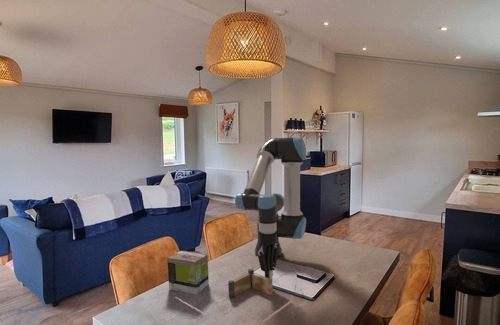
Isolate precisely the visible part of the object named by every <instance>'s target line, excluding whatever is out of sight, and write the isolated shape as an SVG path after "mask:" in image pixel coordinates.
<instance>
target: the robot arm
mask: <svg viewBox="0 0 500 325" xmlns="http://www.w3.org/2000/svg"><path fill="white" fill-rule="evenodd" d="M306 159H307V147H306V143H305V140H304V139H303V138H301V137H275V138H271V139H270V140H268V141H266V142H265V143H264V144H262V145H261V147H260V148H259V150H258V151H257V154H256V161H255V164H254V166H253V168H252V171H251V173H250V176H249V179H248V180H247V183H246V186H245V188H244V190H243V192H242V193H241V192H240V193H238V194H236V195H235V198H234V204H235V207H236V209H238V210H242V211H253V212H254V211H258V215H257V219H256V220H257V222H256V228H257V229H256V230H257V241H256V246H255V250H254V255H255V257H258V258H257V259H258V261H259V262H258V263H259V267H260V271H262V272H264V277H267V278H269V279H272V280H273V275H274V272H273V271H275V268H276V267H277V260H278V258H280V257H281V256H282V255H283V250H282V246H281V243H280V241H279V238H283V239H292V240H301V239H303V237H304V236H305V232H306V227H307V218H306V217H305V216H304V213H303V212H302V211H301V166H302V165H303V164H304V160H306ZM275 160H281V164H282V165H283V195H282V194H280V193H272V194H271V193H270V194H269V193H263V194H261V192H262V188H263V185H264V183H265V180H266V178H267V174H268V172H269V170H270V166H271V164H273V163H274V161H275ZM282 209H283V210H282ZM281 210H282V211H281ZM279 211H281V214H280V215H279Z"/></svg>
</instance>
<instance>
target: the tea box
mask: <svg viewBox="0 0 500 325" xmlns="http://www.w3.org/2000/svg"><path fill="white" fill-rule="evenodd" d="M208 260H209V259H208V254H206V253H200V252H193V251H186V250H180V251H178V252H176V253H174V254H172V255H170V256H169V257H167V274H168V289H169V290H170V291H175V292H181V293H182V292H183V293H187V294H192V295H195V296H197V295H198V294H200V293H201V292H202V291H203V290H204V289H206V288H207V287H209V285H210V284H209V283H210V282H209V280H210V279H209V276H210V275H209V261H208Z"/></svg>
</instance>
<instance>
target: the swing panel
mask: <svg viewBox="0 0 500 325" xmlns="http://www.w3.org/2000/svg"><path fill="white" fill-rule="evenodd" d="M247 273H248V274H250V285H251V287H250V288H252V289H255V290H257V291H259V292H262V293H264V294H266V295H268V296H271V295H273V292H274V291H273V284H274V283H273V278H272V279H269V278H267V277H265V275H261V274H259V273H258V272H254V269H253V268H249V269H248V270H247Z"/></svg>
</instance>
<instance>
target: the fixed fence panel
mask: <svg viewBox="0 0 500 325" xmlns="http://www.w3.org/2000/svg"><path fill="white" fill-rule="evenodd" d="M227 288H228V298H229V299H234V298H235V297H236V296H238V295H240V294H242V293H244V292H245V291H248V289H250V288H252V287H251V285H250V274H248V272H247V273H246V272H245V273H244V274H243V275H240V276H238V277H236V278H234V279H232V280H229V281H228V287H227Z"/></svg>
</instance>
